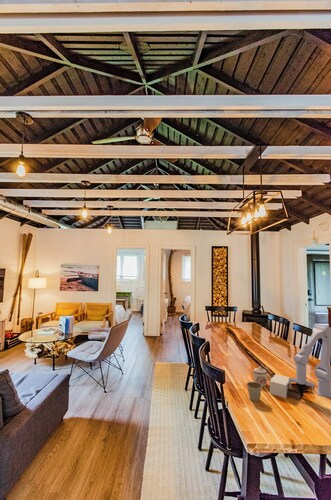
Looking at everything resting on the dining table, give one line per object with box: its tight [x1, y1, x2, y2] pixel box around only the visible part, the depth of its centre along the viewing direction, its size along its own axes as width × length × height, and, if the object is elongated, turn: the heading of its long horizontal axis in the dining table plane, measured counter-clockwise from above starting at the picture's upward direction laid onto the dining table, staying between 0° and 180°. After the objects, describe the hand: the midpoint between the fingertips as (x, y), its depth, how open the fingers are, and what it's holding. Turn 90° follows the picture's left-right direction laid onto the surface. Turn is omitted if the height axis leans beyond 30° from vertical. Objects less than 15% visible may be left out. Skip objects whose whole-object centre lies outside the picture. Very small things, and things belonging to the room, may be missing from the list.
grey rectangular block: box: [269, 373, 292, 399], centre depth 174 cm, size 15×10×8 cm
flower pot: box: [246, 381, 263, 402], centre depth 164 cm, size 9×9×9 cm
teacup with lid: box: [252, 365, 272, 387], centre depth 186 cm, size 12×9×12 cm
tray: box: [287, 388, 302, 401], centre depth 171 cm, size 10×14×2 cm
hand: (301, 395), depth 167 cm, fingers closed
